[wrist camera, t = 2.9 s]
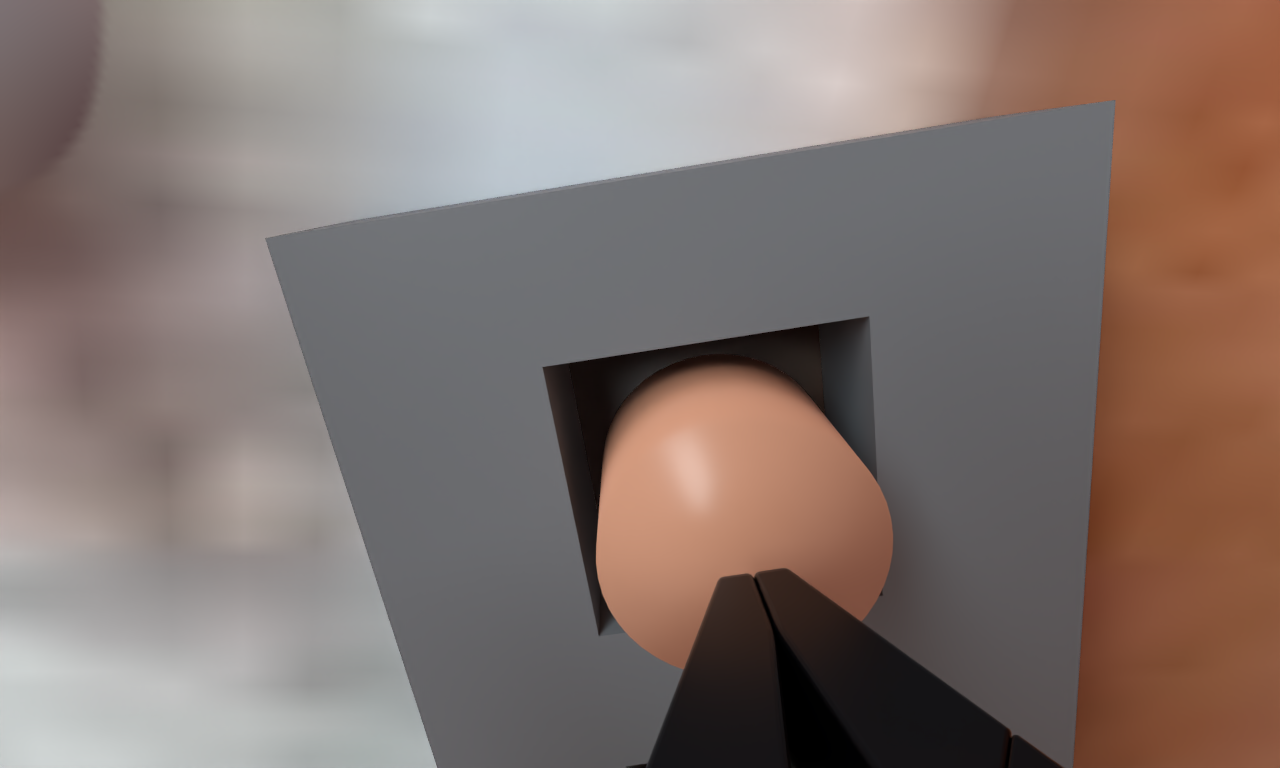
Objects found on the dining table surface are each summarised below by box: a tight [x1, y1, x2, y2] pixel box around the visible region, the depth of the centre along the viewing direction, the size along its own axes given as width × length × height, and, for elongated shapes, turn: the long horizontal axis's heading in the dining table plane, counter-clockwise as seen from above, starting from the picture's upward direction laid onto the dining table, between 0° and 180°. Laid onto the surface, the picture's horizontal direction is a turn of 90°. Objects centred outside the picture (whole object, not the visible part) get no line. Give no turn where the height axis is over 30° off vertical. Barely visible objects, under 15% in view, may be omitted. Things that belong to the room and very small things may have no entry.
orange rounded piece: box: [596, 354, 893, 669], centre depth 10 cm, size 4×4×3 cm
